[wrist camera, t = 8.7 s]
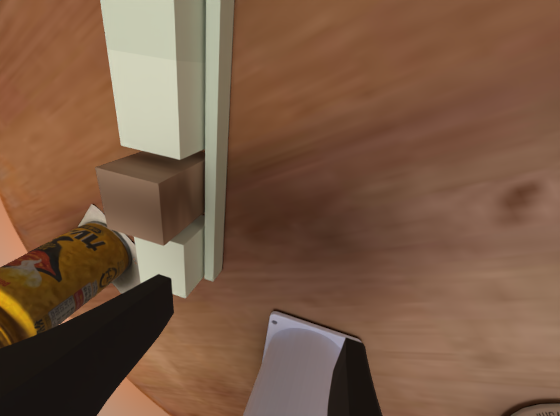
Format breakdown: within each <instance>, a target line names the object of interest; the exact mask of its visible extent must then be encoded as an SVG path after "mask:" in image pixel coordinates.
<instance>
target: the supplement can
mask: <svg viewBox="0 0 560 416" xmlns="http://www.w3.org/2000/svg"><path fill="white" fill-rule="evenodd" d="M511 416H560V404H538V405H534V406H530V407H526V408H522V409H521V410H519V411H517V412H515V413H514V414H512V415H511Z"/></svg>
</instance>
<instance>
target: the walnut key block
mask: <svg viewBox="0 0 560 416" xmlns="http://www.w3.org/2000/svg"><path fill="white" fill-rule="evenodd" d="M95 169H96V174H97V179H98V184H99V189H100V194H101V199H102V204H103V209H104V214H105V219H106V224H107V228H108V229H111V230H114V231H117V232H121V233H124V234H127V235H130V236H133V237H137V238H140V239H143V240H146V241H150V242H153V243H156V244H159V245H162V246H164V245H166V244H167V243H168V242H169V241H170V240H172V239H173V238H174V237H175V236H176V235H178V234H179V233H180V232H181V231H182V230H184V229H185V228H186V227H187V226H188V225H189V224H191V223H192V222H193V221H194V220H195V219H197V218H198V217H199V216H200V215H201V214H203V213H204V212H205V152H200V151H199V152H197V153H194V154H192V155H190V156H188V157H185V158H183V159H181V160H179V159H175V158H171V157H166V156H162V155H158V154H154V153H150V152H146V151H142V152H139V153H136V154H133V155H130V156H127V157H124V158H121V159H118V160H115V161H112V162H109V163H106V164H103V165H101V166H98V167H95Z"/></svg>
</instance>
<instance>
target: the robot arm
mask: <svg viewBox="0 0 560 416" xmlns="http://www.w3.org/2000/svg"><path fill="white" fill-rule="evenodd" d="M173 313H174V309H173V295H172V280H171V278H169V277H166V276H163V275H160V274H158V275H156V276H154V277H152V278H150V279H148V280H146V281H144V282H143V283H141V284H139V285H137V286H135V287H133V288H132V289H130V290H128V291H126V292H124V293H122V294H121V295H119V296H117V297H115V298H113V299H111V300H109V301H107V302H105V303H103V304H102V305H100V306H98V307H96V308H94V309H92V310H89V311H87V312H85V313H83V314H81V315H79V316H77V317H75V318H73V319H71V320H69V321H67V322H65V323H62V324H60V325H58V326H56V327H53V328H51V329H49V330H46V331H44V332H42V333H39V334H37V335H34V336H32V337H30V338H27V339H24V340H22V341H19V342H16V343H14V344H11V345H8V346H6V347H3V348H0V416H97V414H98V413H99V411H100V410H101V409H102V407H103V406H104V404H105V403H106V401H107V400H108V399H109V397H110V396H111V395H112V393H113V392H114V391H115V390H116V388H117V387H118V386H119V385H120V383H121V382H122V381H123V380H124V378H125V377H126V376H127V375H128V374H129V372H130V371H131V370H132V369H133V367H134V366H135V365H136V364H137V363H138V361H139V360H140V359H141V358H142V356H143V355H144V354H145V353H146V352H147V350H148V349H149V348H150V347H151V345H152V344H153V343H154V342H155V340H156V339H157V338H158V337H159V335H160V334H161V332H162V331H163V329H164V328H165V326H166V325H167V323H168V321H169V320H170V318H171V317H172V315H173ZM243 416H382V413H381V409H380V406H379V403H378V399H377V396H376V392H375V389H374V385H373V381H372V377H371V373H370V369H369V364H368V360H367V355H366V349H365V346H364V344H363V343H362V342H361V341H360V340H359V339H357V338H354V337H351V336H348V335H345V334H342V333H339V332H336V331H333V330H330V329H328V328H325V327H322V326H319V325H316V324H313V323H310V322H307V321H304V320H301V319H298V318H295V317H292V316H289V315H286V314H283V313H280V312H277V311H273V312H272V313H271V315H270V319H269V325H268V330H267V336H266V342H265V348H264V354H263V360H262V365H261V368H260V370H259V373H258V376H257V378H256V381H255V384H254V387H253V389H252V392H251V395H250V397H249V400H248V403H247V406H246V408H245V411H244V414H243Z"/></svg>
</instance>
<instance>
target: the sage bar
mask: <svg viewBox="0 0 560 416" xmlns="http://www.w3.org/2000/svg"><path fill="white" fill-rule="evenodd" d="M100 2H101V9H102V16H103V23H104V30H105V37H106V44H107V51H108V58H109V65H110V72H111V79H112V86H113V93H114V100H115V107H116V114H117V121H118V128H119V135H120V142H121V146H125V147H129V148H134V149H138V150H142V151H146V152H150V153H154V154H158V155H162V156H166V157H171V158H175V159H179V160H181V159H183V158H185V157H188V156H190V155H192V154H194V153H197V152H199V151H201V150H203V149H205V216H203V215H200V216H199V217H198V218H197V219H195V220H194V221H193V222H192V223H191V224H189V225H188V226H187V227H186V228H185V229H184V230H182V231H181V232H180V233H179V234H178V235H176V236H175V237H174V238H173V239H172V240H170V241H169V242H168V243H167V244H166V245H164V246H162V245H159V244H156V243H153V242H150V241H146V240H143V239H140V238H137V237H134V240H135V247H136V254H137V261H138V268H139V275H140V282H141V283H143V282H144V281H146V280H148V279H150V278H152V277H154V276H156V275H158V274H160V275H163V276H166V277H169V278H171V280H172V294H174V295H177V296H180V297H183V298H186V297H187V296H188V295H189V294H190V293H191V291H192V290H193V289H194V288H195V286H196V285H197V284H198V283H199V282H200V280H201V279H202V278H203V277H204V275H205V279H207V280H210V281H214V280H215V279H216V277H217V276H218V275H219V273H220V272H221V271H222V262H223V240H224V218H225V196H226V174H227V152H228V130H229V108H230V85H231V63H232V41H233V19H234V0H100Z"/></svg>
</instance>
